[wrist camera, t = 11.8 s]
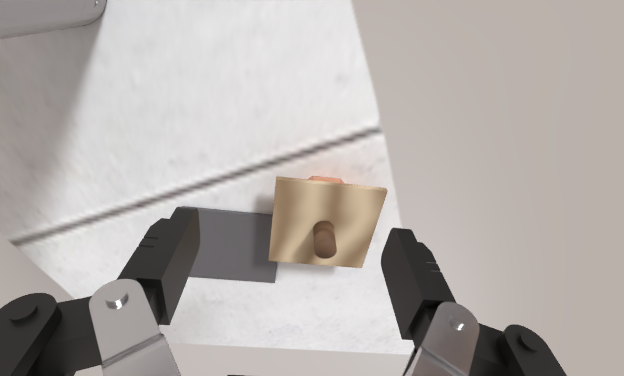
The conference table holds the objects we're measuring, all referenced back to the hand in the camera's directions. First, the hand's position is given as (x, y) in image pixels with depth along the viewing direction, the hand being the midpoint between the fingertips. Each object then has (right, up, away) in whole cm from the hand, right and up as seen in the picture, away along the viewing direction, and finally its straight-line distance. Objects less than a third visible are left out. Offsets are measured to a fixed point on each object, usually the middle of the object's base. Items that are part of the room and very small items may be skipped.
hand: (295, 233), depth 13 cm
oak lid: (+2, -4, +32) cm, 33 cm away
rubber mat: (-13, -8, +41) cm, 44 cm away
